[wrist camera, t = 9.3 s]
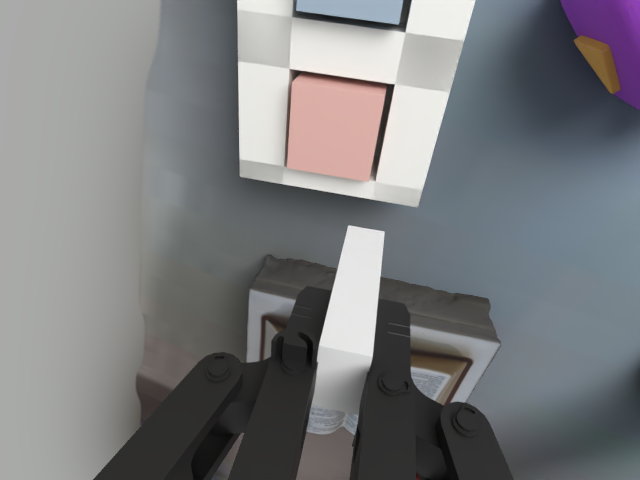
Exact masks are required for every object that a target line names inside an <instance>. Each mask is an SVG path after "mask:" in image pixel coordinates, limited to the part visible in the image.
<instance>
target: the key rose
mask: <svg viewBox="0 0 640 480" xmlns="http://www.w3.org/2000/svg"><path fill="white" fill-rule="evenodd" d="M386 87H387V83H382V82H375V81H368V80H362V79H355V78H348V77H341V76H335V75H328V74H321V73H314V72H307V71H302V73H301V74H300V75H299V76H298V77H297V78H296V79H295V80H294V81H293V82H292V91H291V108H290V125H289V142H288V159H287V168H289V169H295V170H301V171H307V172H313V173H319V174H325V175H331V176H337V177H343V178H348V179H354V180H360V181H366V182H369V178H370V173H371V168H372V163H373V157H374V152H375V147H376V142H377V136H378V131H379V126H380V121H381V115H382V110H383V105H384V100H385V94H386Z"/></svg>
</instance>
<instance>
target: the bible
mask: <svg viewBox="0 0 640 480" xmlns="http://www.w3.org/2000/svg"><path fill="white" fill-rule="evenodd" d="M337 270H338V269H336V268H331V267H326V266H325V265H321V264H317V263H311V262H308V261H304V260H295V259H292V258H291V259H286V260H285V259H276V258H274V257H273V256H272V255H267V257H266V259H265V262H264V267H263V268H262V269H261V270H260V272H259V273H258V275H257V276H256V278H255V281H254V283H253V285H252V286H251V287H250V289H249V298H248V320H247V351H246V363H247V362H257V361H262V360H265V359H267V358H269V357H271V340H272V339H273V337H274V336H275V334H277V333H278V332H280V331H282V330H284V329H286V327H287V324H288V321H289V318H290V316H291V313H292V310H293V307H294V304H295V301H296V298H297V296H298V294H299V293H300V292H301V291H302V290H303V289H304V288H305V287H306V286H311V287H316V288H321V289H326V290H331V291H332V290H333V286H334V282H335V278H336V274H337ZM378 299H383V300H389V301H394V302H399V303H404V304H405V306H406V307H407V309H408V311H409V313H410V334H411V336H410V338H411V377H412V380H413V382H414V384H415V385H416V387H417V388H418V389H419V390H420V391H421V392H422V393H423V394H424V395H426V396H427V397H429V398H430V399H432V400H434V401H436V402H438V403H440V404H442V405H444V406H446V405H447V404H448V403H451V402H457V401H458V402H464V403H466V401H467V400H468V398H469V396H470V395H471V393H472V392H473V390H474V388H475V386H476V384H477V383H478V381H479V380H480V379H481V377H482V376H483V374H484V372H485V371H486V369H487V367H488V366H489V364H490V363H491V362H492V360H493V358H494V356H495V355H496V353H497V351H498V350H499V348H500V346H501V342H500V341H499V339H498V338H497V334H496V331H495V328H494V326H493V324H492V321H491V320H490V318H489V314H488V313H489V310H490V303H489V300H488V299H487V298H482V297H478V296H472V295H465V294H460V293H455V294H452V293H449V292H446V291H442V290H434V289H432V288H430V287H427V286H420V285H415V284H409V283H406V282H403V281H399V280H393V279H388V278H383V277H380V285H379V296H378ZM358 417H359V415H355V414H351V413H346V412H342V411H337V410H333V409H328V408H324V407H319V406H315V405H311V409H310V414H309V422H308V427H307V432H311V433H315V434H330V433H333V432H334V431H336V430H337V429H339V428H340V427H342V426H343V427H345V428H346V429H347V430H348V431H349V432H350V433H352V434H354V435H355V432H356V428H357V424H358Z"/></svg>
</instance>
